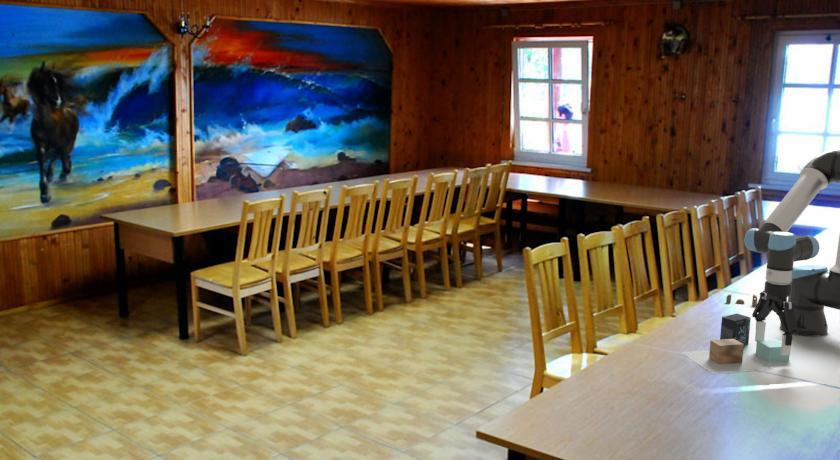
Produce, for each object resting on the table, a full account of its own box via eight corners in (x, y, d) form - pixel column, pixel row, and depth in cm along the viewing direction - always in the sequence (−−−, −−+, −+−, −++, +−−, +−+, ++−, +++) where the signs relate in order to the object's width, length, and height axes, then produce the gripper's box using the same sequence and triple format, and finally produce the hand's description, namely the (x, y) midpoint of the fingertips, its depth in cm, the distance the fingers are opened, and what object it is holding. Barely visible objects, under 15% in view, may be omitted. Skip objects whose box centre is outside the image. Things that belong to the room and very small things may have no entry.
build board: (736, 351, 264) (737, 348, 264) (773, 373, 245) (773, 369, 245) (680, 355, 261) (680, 352, 260) (712, 377, 241) (712, 374, 241)
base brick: (732, 356, 256) (733, 338, 255) (742, 362, 251) (743, 344, 249) (709, 358, 254) (710, 340, 253) (718, 364, 249) (719, 345, 248)
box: (733, 351, 264) (735, 320, 262) (718, 347, 269) (721, 316, 267) (748, 347, 268) (751, 316, 266) (734, 343, 273) (736, 312, 271)
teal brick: (775, 357, 259) (776, 339, 258) (788, 364, 253) (790, 346, 252) (755, 358, 258) (756, 340, 257) (768, 365, 252) (769, 347, 250)
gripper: (744, 273, 262) (739, 336, 266) (792, 292, 238) (785, 361, 242) (765, 272, 263) (759, 335, 267) (815, 291, 239) (808, 360, 243)
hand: (772, 347), depth 254 cm, fingers open, 13 cm apart
